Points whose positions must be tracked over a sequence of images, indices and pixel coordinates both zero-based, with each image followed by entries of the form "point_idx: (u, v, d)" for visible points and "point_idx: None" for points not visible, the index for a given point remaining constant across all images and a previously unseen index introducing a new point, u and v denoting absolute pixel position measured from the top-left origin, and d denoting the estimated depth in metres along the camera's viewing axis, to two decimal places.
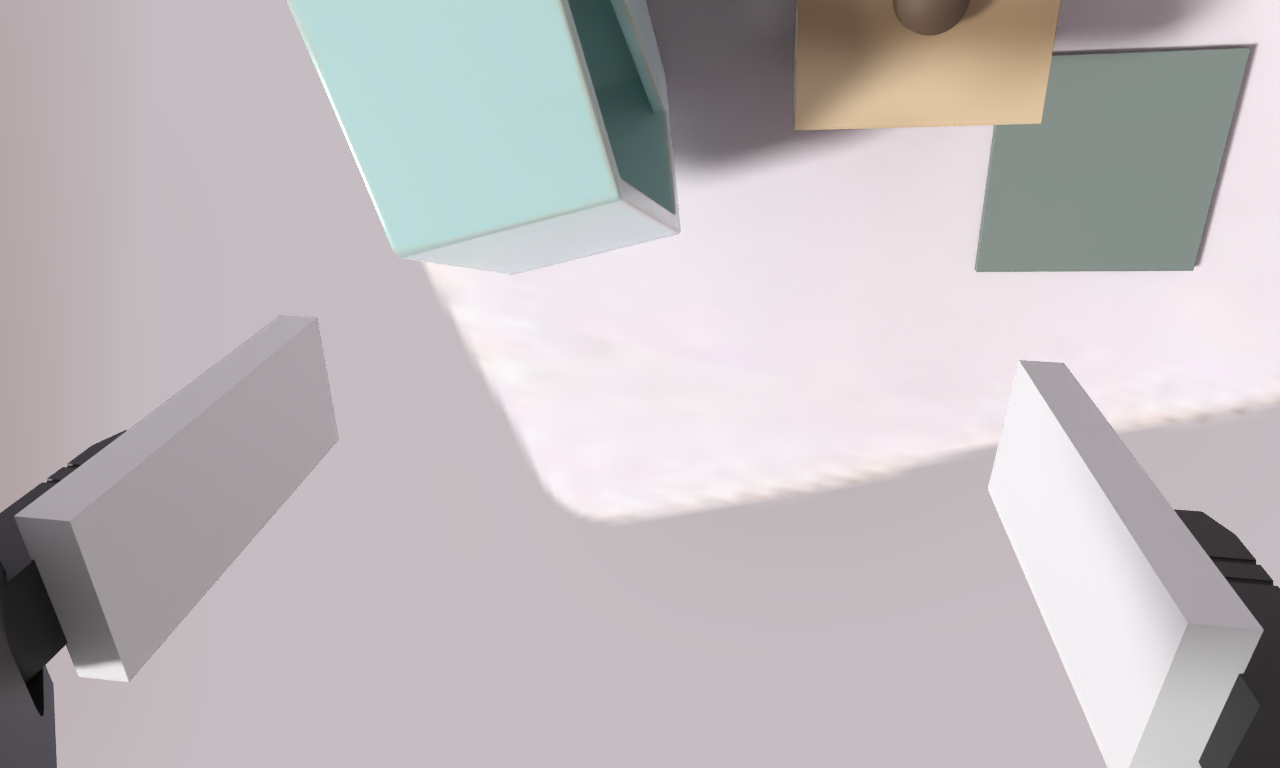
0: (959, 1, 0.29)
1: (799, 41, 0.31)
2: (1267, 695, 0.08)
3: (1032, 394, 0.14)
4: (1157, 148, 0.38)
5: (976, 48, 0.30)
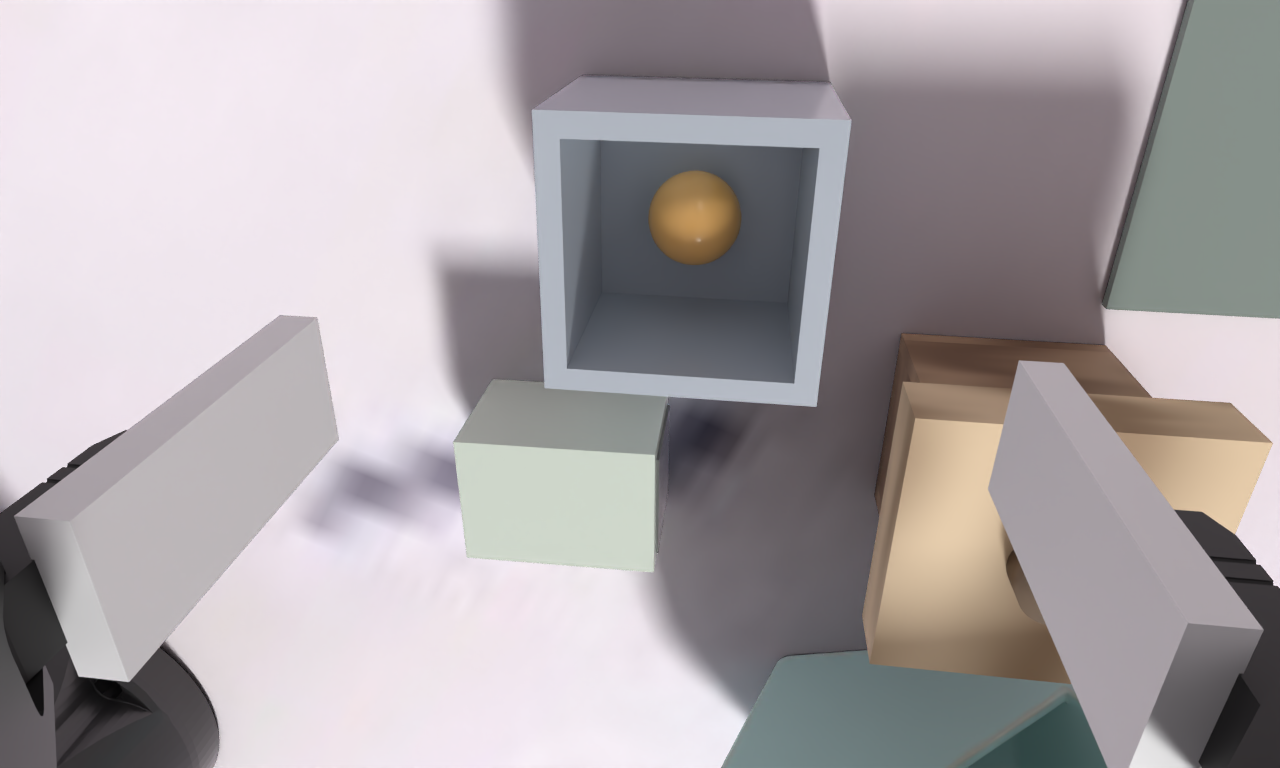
0: None
1: (1060, 681, 0.26)
2: (1267, 695, 0.08)
3: (1032, 394, 0.14)
4: None
5: None
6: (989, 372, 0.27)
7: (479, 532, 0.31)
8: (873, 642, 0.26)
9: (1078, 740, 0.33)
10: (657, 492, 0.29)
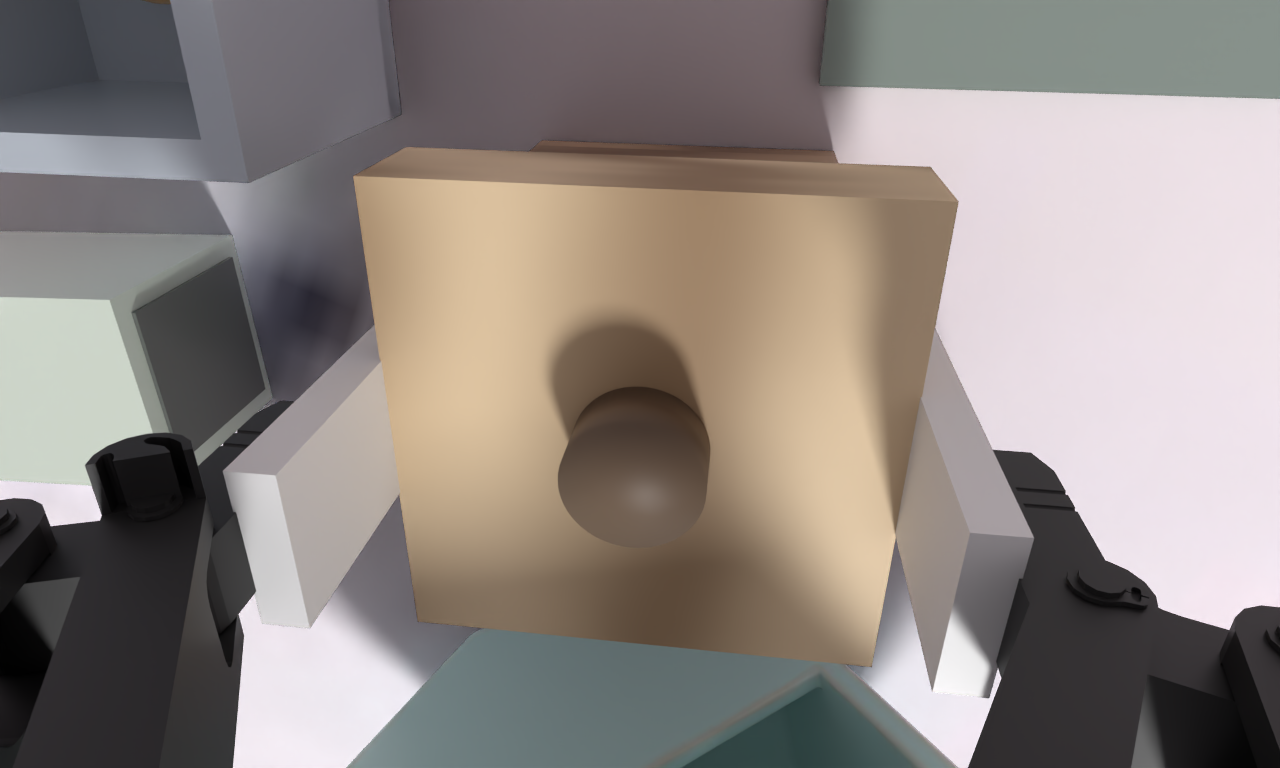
0: (641, 443, 0.13)
1: (704, 647, 0.16)
2: (1031, 600, 0.09)
3: None
4: None
5: (753, 357, 0.13)
6: None
7: None
8: (414, 586, 0.17)
9: (840, 741, 0.24)
10: (149, 365, 0.20)
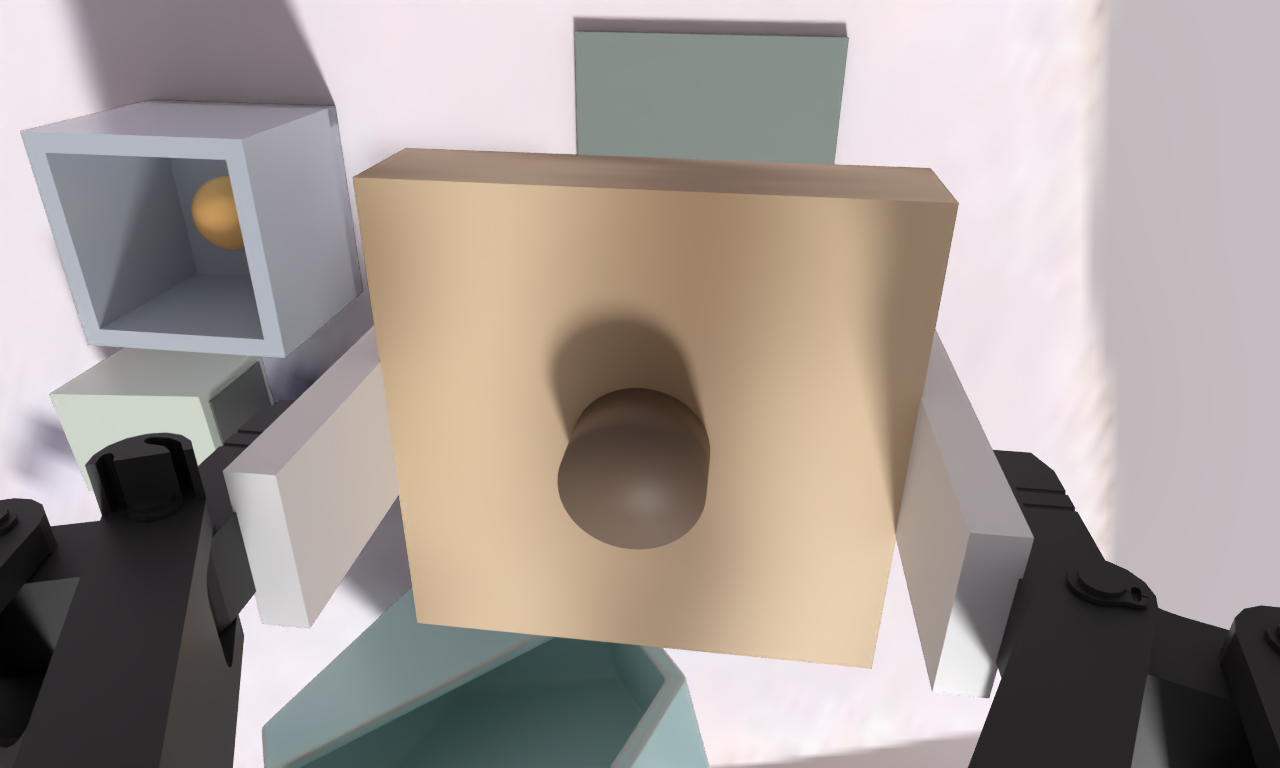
0: (641, 445, 0.13)
1: (704, 649, 0.16)
2: (1032, 600, 0.09)
3: None
4: (683, 114, 0.32)
5: (753, 358, 0.13)
6: None
7: None
8: (413, 587, 0.17)
9: (621, 643, 0.41)
10: (218, 428, 0.37)
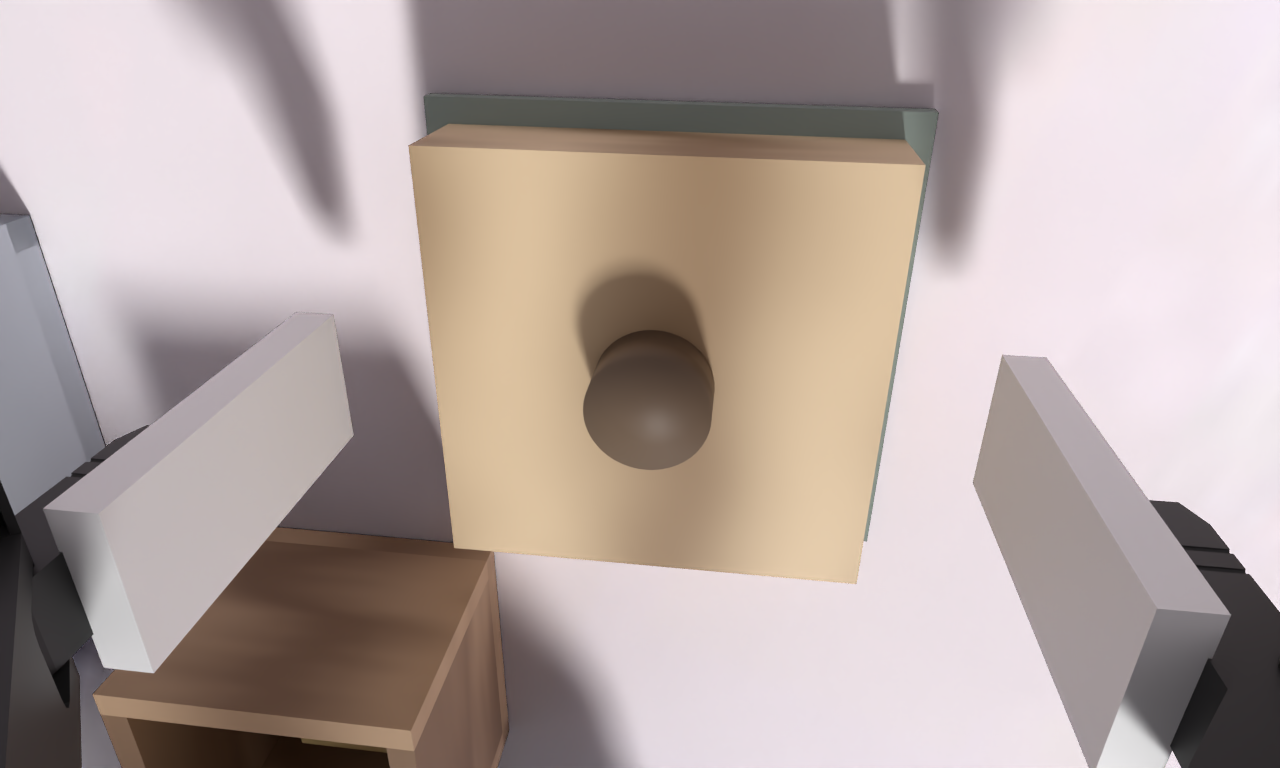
0: (655, 375, 0.15)
1: (709, 568, 0.18)
2: (1233, 680, 0.08)
3: (1015, 388, 0.14)
4: None
5: (752, 302, 0.16)
6: (274, 603, 0.20)
7: None
8: (451, 515, 0.19)
9: None
10: None
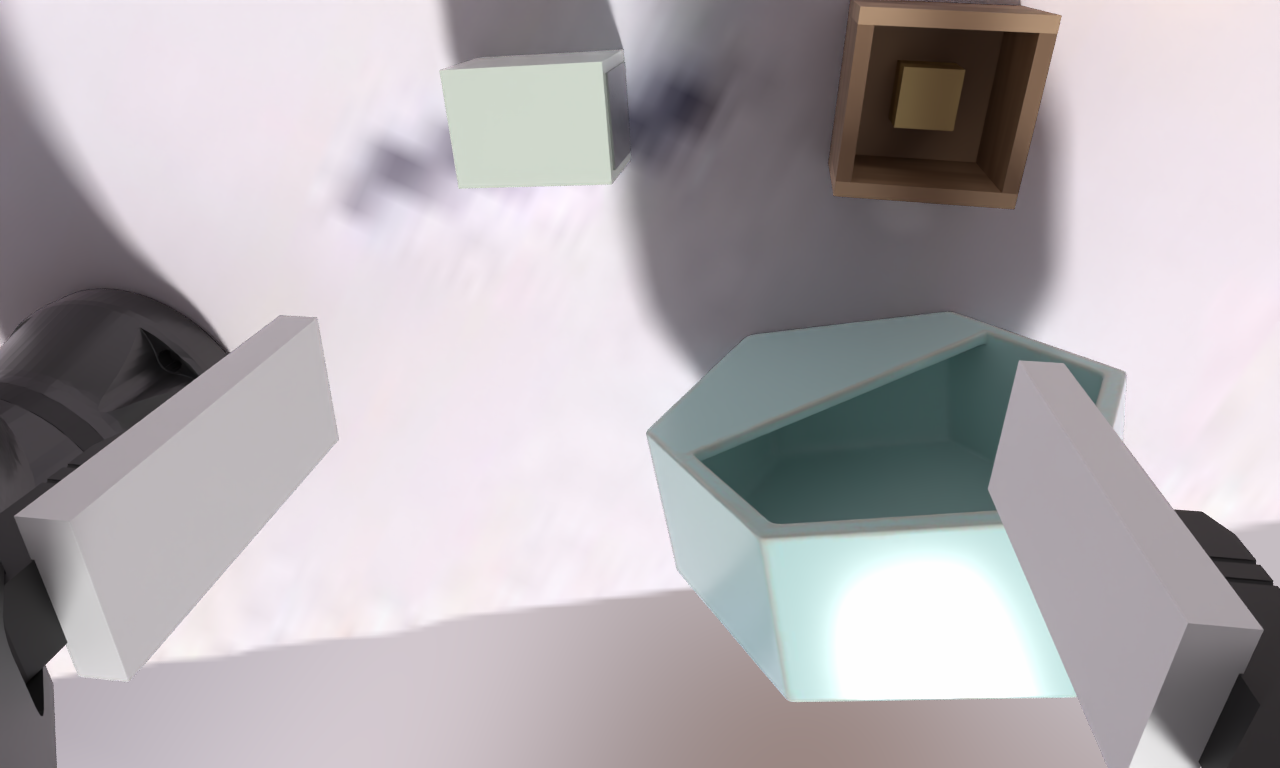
0: None
1: None
2: (1267, 695, 0.08)
3: (1032, 394, 0.14)
4: None
5: None
6: (916, 4, 0.33)
7: (467, 160, 0.37)
8: None
9: (995, 379, 0.39)
10: (609, 106, 0.35)
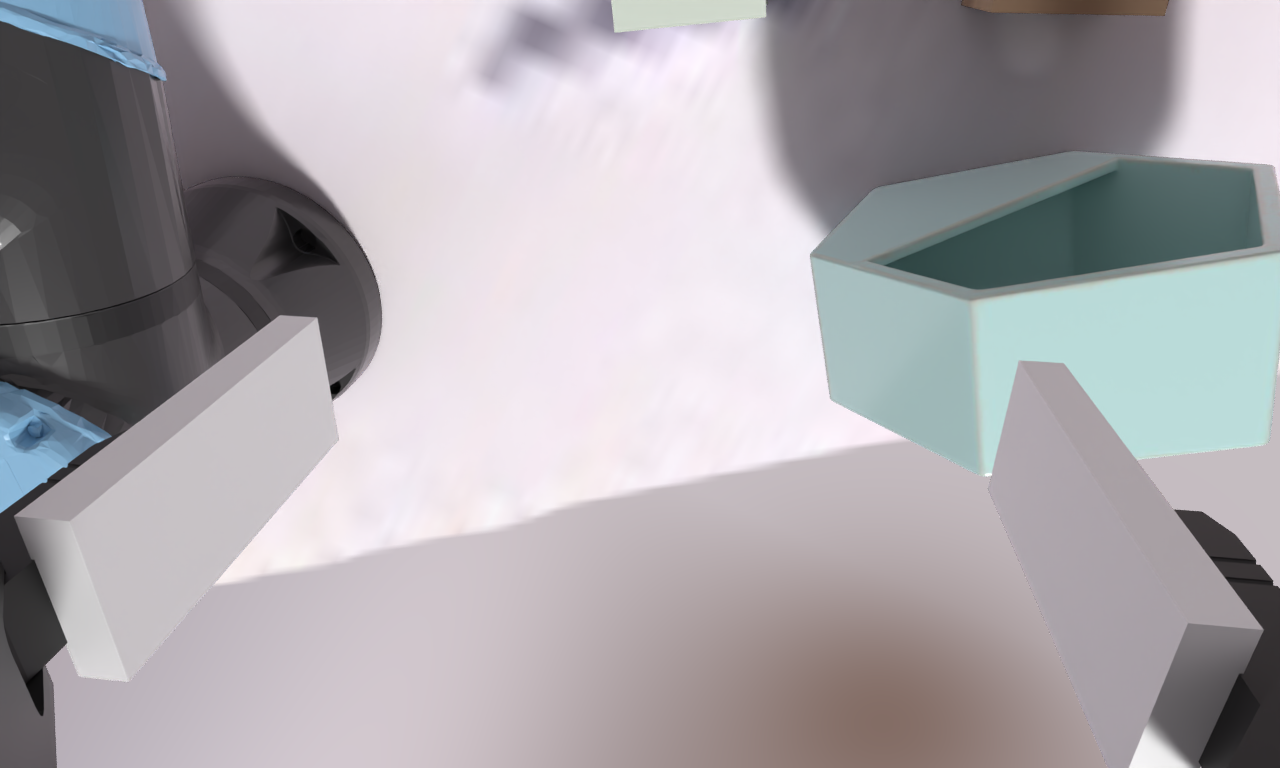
0: None
1: None
2: (1267, 695, 0.08)
3: (1032, 394, 0.14)
4: None
5: None
6: None
7: (624, 3, 0.38)
8: None
9: (1127, 205, 0.41)
10: None
